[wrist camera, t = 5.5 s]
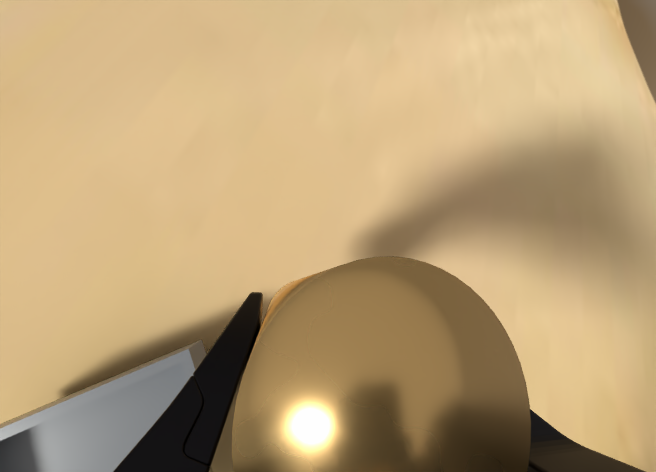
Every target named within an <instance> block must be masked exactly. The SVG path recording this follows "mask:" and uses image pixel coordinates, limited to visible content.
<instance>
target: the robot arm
mask: <svg viewBox="0 0 656 472" xmlns="http://www.w3.org/2000/svg"><path fill="white" fill-rule="evenodd" d="M262 303H263V294H262V293H261V292H252V293H250V294H249V296H248V297H247V299H246V300H245V301H244V303H243V304H242V306H241V307H240V308H239V310H238V311H237V313H236V314H235V315H234V317H233V318H232V320H231V321H230V322H229V324H228V325H227V327H226V328H225V329H224V331H223V332H222V334H221V335H220V336H219V338H218V339H217V341H216V342H215V343H214V345H213V346H212V348H211V349H210V350H209V352H208V353H207V355H206V356H205V357H204V359H203V360H202V362H201V363H200V364H199V366H198V367H197V369H196V370H195V371H194V373H193V376H191V377H190V378H189V380H188V381H187V382H186V384H185V385H184V387H183V388H182V389H181V391H180V392H179V393H178V395H177V396H176V397H175V399H174V400H173V401H172V403H171V404H170V405H169V406H168V408H167V409H166V410H165V411H164V412H163V414H162V415H161V416H160V417H159V418H158V420H157V421H156V422H155V423H154V424H153V426H152V427H151V428H150V429H149V430H148V431H147V433H146V434H145V435H144V436H143V437H142V438H141V440H140V441H139V442H138V443H137V444H136V445H135V447H134V448H133V449H132V450H131V451H130V452H129V453H128V455H127V456H126V457H125V458H124V459H123V460H122V462H121V463H120V464H119V465H118V466H117V467H116V469H115V470H114V471H113V472H234V471H233V461H232V426H233V419H234V412H235V405H236V399H237V396H238V392H239V388H240V384H241V380H242V377H243V374H244V371H245V369H246V366H247V363H248V361H249V358H250V355H251V353H252V350H253V347H254V344H255V342H256V339H257V336H258V334H259V331H260V328H261V321H262ZM530 418H531V444H530V453H529V462H528V469H527V472H645V471H643V470H640V469H638V468H635V467H633V466H630V465H628V464H625V463H623V462H620V461H618V460H615V459H613V458H610V457H608V456H605V455H603V454H601V453H598V452H596V451H593V450H591V449H588V448H586V447H584V446H582V445H580V444H578V443H576V442H574V441H572V440H571V439H569V438H567V437H566V436H564V435H563V434H561V433H560V432H559V431H557V430H556V429H555V428H553V427H552V426H551V425H549V424H548V423H547V422H546V421H544V420H543V419H542V418H541V417H539V416H538V415H537V414H536V413H534V412H533V411H532V410H531V409H530Z"/></svg>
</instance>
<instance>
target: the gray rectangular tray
mask: <svg viewBox="0 0 656 472" xmlns="http://www.w3.org/2000/svg"><path fill="white" fill-rule="evenodd" d="M206 355H207V354H206V351H205V348H204V345H203V342H202V339H201V340H199V341H197V342H194V343H192V344H190V345H187V346H185V347H182V348H180V349H178V350H175V351H173V352H171V353H168V354H166V355H163V356H161V357H159V358H156V359H154V360H151V361H149V362H147V363H144V364H142V365H140V366H137V367H135V368H132V369H130V370H128V371H125V372H123V373H121V374H118V375H116V376H113V377H111V378H109V379H106V380H104V381H101V382H99V383H97V384H94V385H92V386H90V387H87V388H85V389H82V390H80V391H78V392H75V393H73V394H70V395H68V396H66V397H63V398H61V399H59V400H56V401H54V402H51V403H49V404H47V405H44V406H42V407H40V408H37V409H35V410H32V411H30V412H28V413H25V414H23V415H20V416H18V417H16V418H13V419H11V420H9V421H6V422H4V423H2V424H0V472H113V471H114V470H115V469H116V467H117V466H118V465H119V464H120V463H121V462H122V460H123V459H124V458H125V457H126V456H127V455H128V453H129V452H130V451H131V450H132V449H133V448H134V447H135V445H136V444H137V443H138V442H139V441H140V440H141V438H142V437H143V436H144V435H145V434H146V433H147V431H148V430H149V429H150V428H151V427H152V426H153V424H154V423H155V422H156V421H157V420H158V418H159V417H160V416H161V415H162V414H163V412H164V411H165V410H166V409H167V408H168V406H169V405H170V404H171V403H172V401H173V400H174V399H175V397H176V396H177V395H178V393H179V392H180V391H181V389H182V388H183V387H184V385H185V384H186V382H187V381H188V380H189V378H190V377H191V376H193V373H194V371H195V370H196V369H197V367H198V366H199V364H200V363H201V362H202V360H203V359H204V357H205V356H206Z"/></svg>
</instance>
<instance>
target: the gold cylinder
mask: <svg viewBox="0 0 656 472" xmlns="http://www.w3.org/2000/svg"><path fill="white" fill-rule="evenodd" d="M530 444H531V418H530V405H529V398H528V393H527V387H526V382H525V378H524V375H523V371H522V368H521V364H520V361H519V359H518V356H517V354H516V351H515V349H514V346H513V344H512V342H511V340H510V338H509V336H508V334H507V332H506V330H505V329H504V327H503V326H502V324H501V323H500V321H499V320H498V318H497V316H496V315H495V313H494V312H493V311H492V310H491V309H490V307H489V306H488V305H487V304H486V303H485V301H484V300H483V299H482V298H481V297H480V296H479V295H478V294H477V293H475V292H474V291H473V290H472V289H471V288H470V287H469V286H467V285H466V284H465V283H463V282H462V281H461V280H459V279H458V278H457V277H455V276H453V275H451V274H450V273H448V272H446V271H444V270H443V269H441V268H438V267H436V266H433V265H431V264H428V263H425V262H422V261H418V260H414V259H410V258H401V257H373V258H367V259H361V260H356V261H353V262H350V263H347V264H344V265H340V266H337V267H334V268H332V269H329V270H326V271H323V272H320V273H317V274H314V275H311V276H308V277H305V278H302V279H299V280H296V281H293V282H291V283H289V284H287V285H285V286H284V287H282V288H281V289H280V290H279V291H278V292H277V293H276V294H275V296H274V297H273V299H272V300H271V302H270V304H269V307H268V310H267V312H266V315H265V318H264V320H263V323H262V326H261V328H260V331H259V334H258V336H257V339H256V342H255V344H254V347H253V350H252V353H251V355H250V358H249V361H248V363H247V366H246V369H245V371H244V374H243V377H242V380H241V384H240V388H239V392H238V396H237V399H236V405H235V412H234V419H233V426H232V461H233V471H234V472H527V469H528V462H529V453H530Z"/></svg>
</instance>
